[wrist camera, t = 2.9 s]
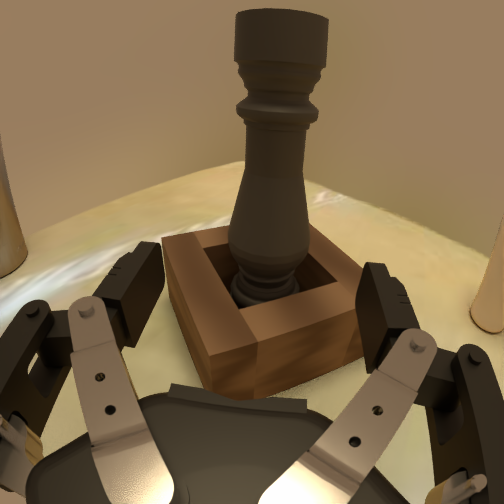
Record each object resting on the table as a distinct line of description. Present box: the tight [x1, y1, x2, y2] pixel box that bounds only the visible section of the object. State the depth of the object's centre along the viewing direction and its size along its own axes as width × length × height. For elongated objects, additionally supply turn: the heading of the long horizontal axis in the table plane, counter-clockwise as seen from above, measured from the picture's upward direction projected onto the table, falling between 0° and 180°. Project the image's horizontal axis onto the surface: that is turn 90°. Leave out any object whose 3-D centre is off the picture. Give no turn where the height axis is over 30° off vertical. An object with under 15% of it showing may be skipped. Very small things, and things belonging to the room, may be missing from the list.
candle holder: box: [228, 8, 329, 309], centre depth 22 cm, size 6×6×25 cm
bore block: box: [161, 223, 364, 401], centre depth 27 cm, size 14×14×7 cm
